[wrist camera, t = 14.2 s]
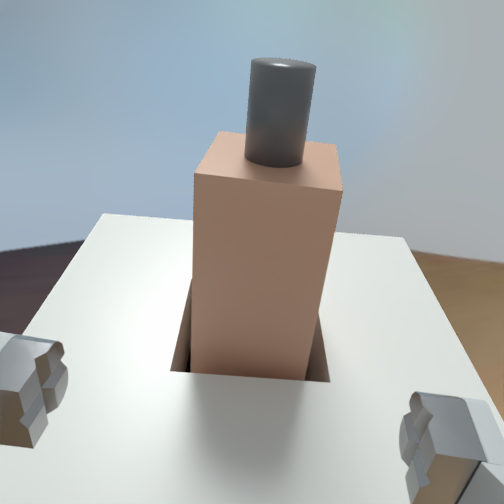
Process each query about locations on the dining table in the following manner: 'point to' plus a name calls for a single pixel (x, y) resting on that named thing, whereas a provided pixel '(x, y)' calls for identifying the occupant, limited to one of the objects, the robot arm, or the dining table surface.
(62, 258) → the dining table surface
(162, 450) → the socket
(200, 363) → the plug
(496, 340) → the dining table surface
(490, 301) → the dining table surface
